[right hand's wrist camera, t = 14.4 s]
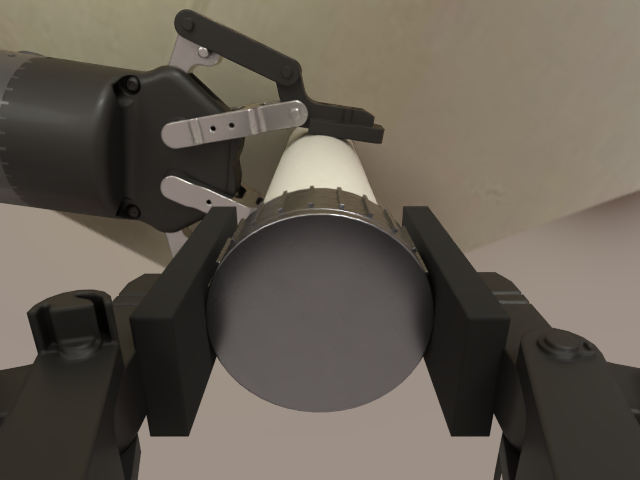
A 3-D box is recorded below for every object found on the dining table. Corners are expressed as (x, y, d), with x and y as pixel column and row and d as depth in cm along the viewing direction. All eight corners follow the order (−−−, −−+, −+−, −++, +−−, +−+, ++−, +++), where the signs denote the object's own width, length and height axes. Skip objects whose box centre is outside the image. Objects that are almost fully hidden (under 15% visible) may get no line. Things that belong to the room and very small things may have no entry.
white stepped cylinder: (352, 116, 28) (413, 216, 10) (354, 184, 30) (409, 378, 12) (283, 120, 28) (216, 226, 10) (288, 187, 30) (239, 385, 12)
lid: (204, 191, 11) (180, 219, 9) (420, 176, 11) (442, 200, 9) (235, 368, 13) (220, 421, 11) (418, 357, 13) (436, 408, 11)
